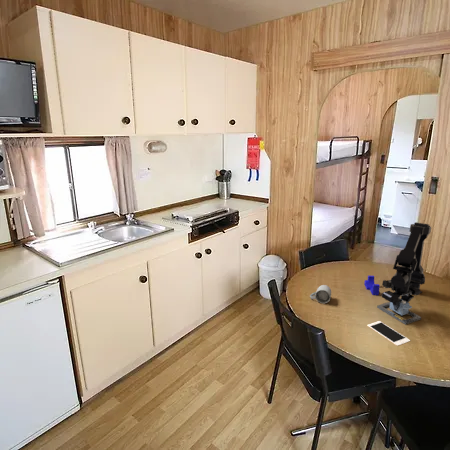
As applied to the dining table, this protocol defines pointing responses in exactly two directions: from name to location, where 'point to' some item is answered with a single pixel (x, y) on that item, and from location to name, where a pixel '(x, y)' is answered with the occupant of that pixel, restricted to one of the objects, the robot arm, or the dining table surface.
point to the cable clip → (372, 285)
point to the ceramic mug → (322, 294)
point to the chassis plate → (407, 321)
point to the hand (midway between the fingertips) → (398, 309)
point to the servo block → (401, 307)
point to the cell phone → (388, 333)
